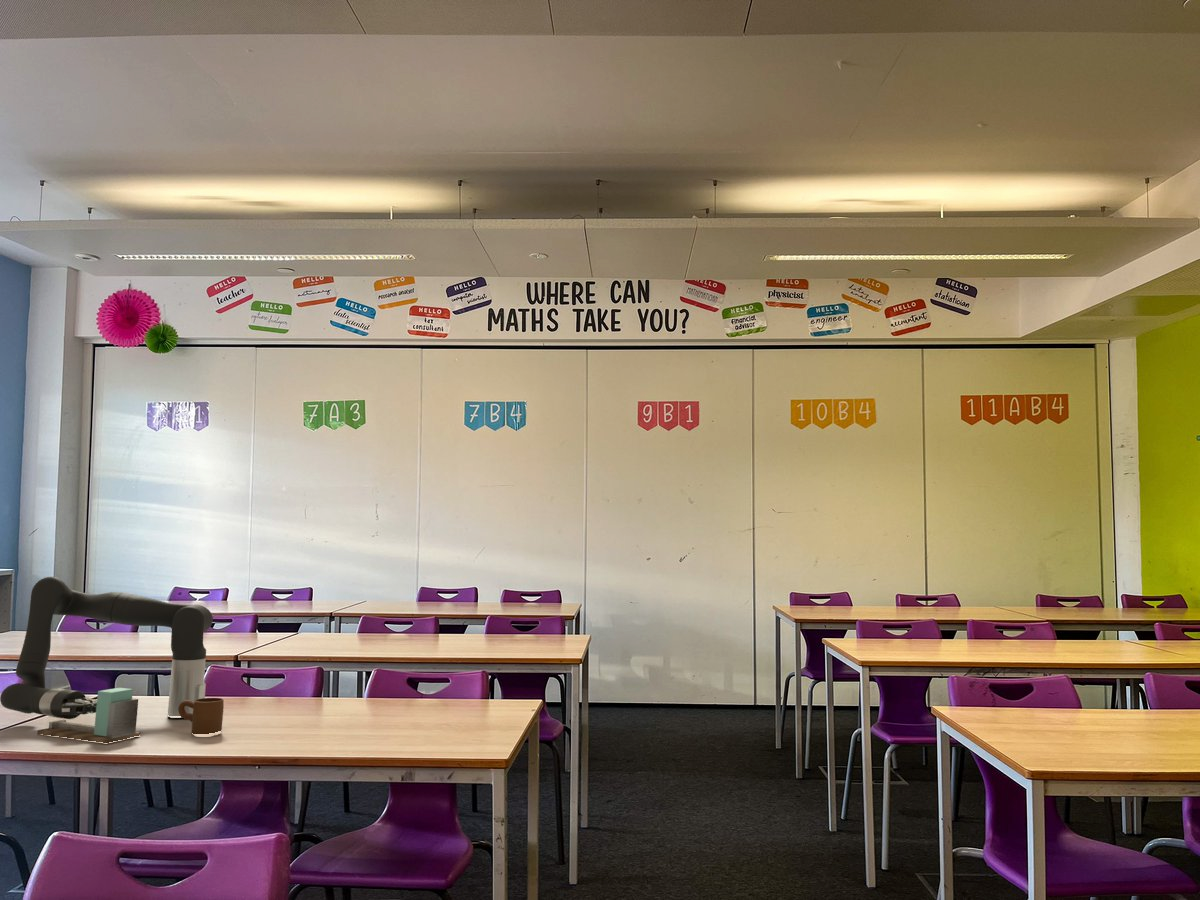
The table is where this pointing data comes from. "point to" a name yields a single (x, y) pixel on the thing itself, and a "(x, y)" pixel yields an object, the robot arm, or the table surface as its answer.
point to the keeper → (103, 707)
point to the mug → (204, 714)
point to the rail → (110, 720)
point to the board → (81, 735)
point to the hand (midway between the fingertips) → (107, 709)
